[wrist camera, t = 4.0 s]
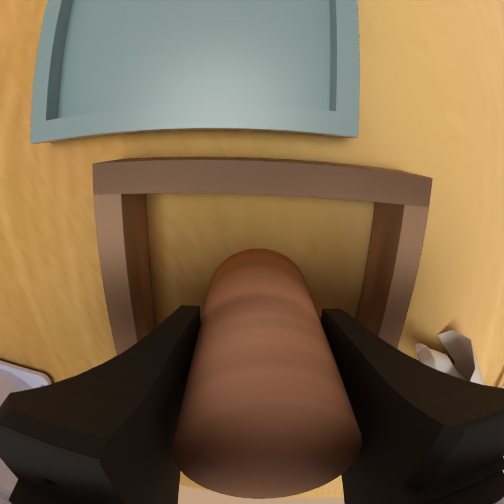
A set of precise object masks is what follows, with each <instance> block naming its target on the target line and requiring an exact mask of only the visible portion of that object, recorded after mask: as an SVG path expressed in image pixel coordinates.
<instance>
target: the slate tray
mask: <svg viewBox="0 0 504 504" xmlns="http://www.w3.org/2000/svg"><path fill="white" fill-rule="evenodd" d="M359 86H360V58H359V23H358V4H357V0H48V1H47V6H46V10H45V14H44V19H43V23H42V28H41V33H40V39H39V45H38V51H37V58H36V65H35V74H34V83H33V95H32V111H31V144H36V143H49V142H57V141H64V140H71V139H78V138H87V137H95V136H105V135H115V134H127V133H142V132H160V131H189V130H234V131H265V132H283V133H297V134H310V135H321V136H331V137H340V138H358V123H359Z"/></svg>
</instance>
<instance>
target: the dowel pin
mask: <svg viewBox="0 0 504 504" xmlns="http://www.w3.org/2000/svg"><path fill="white" fill-rule="evenodd" d="M361 447H362V435H361V432H360V430H359V427H358V424H357V421H356V418H355V415H354V412H353V409H352V406H351V404H350V401H349V398H348V395H347V392H346V389H345V387H344V384H343V381H342V378H341V376H340V373H339V370H338V367H337V365H336V362H335V359H334V357H333V354H332V351H331V348H330V346H329V343H328V340H327V338H326V335H325V332H324V330H323V327H322V325H321V322H320V319H319V317H318V314H317V312H316V309H315V306H314V304H313V301H312V299H311V296H310V294H309V291H308V289H307V286H306V284H305V281H304V278H303V276H302V274H301V272H300V270H299V269H298V267H297V266H296V265H295V264H294V263H293V262H292V261H291V260H290V259H288V258H287V257H286V256H284V255H282V254H280V253H278V252H275V251H271V250H267V249H250V250H245V251H242V252H239V253H237V254H234V255H233V256H231V257H229V258H228V259H226V260H225V261H224V262H223V263H222V264H221V265H220V266H219V267H218V269H217V270H216V271H215V273H214V275H213V277H212V280H211V283H210V287H209V291H208V295H207V299H206V303H205V307H204V311H203V315H202V319H201V323H200V327H199V332H198V336H197V340H196V344H195V348H194V352H193V357H192V361H191V365H190V370H189V374H188V378H187V383H186V387H185V391H184V396H183V400H182V405H181V409H180V414H179V419H178V423H177V428H176V433H175V437H174V442H173V449H172V453H173V458H174V461H175V463H176V465H177V466H178V468H179V469H180V470H181V471H182V472H183V474H184V475H186V476H187V477H188V478H189V479H191V480H192V481H194V482H195V483H197V484H199V485H201V486H203V487H205V488H207V489H209V490H212V491H215V492H218V493H221V494H226V495H230V496H235V497H242V498H255V499H265V498H279V497H286V496H292V495H296V494H300V493H304V492H307V491H310V490H313V489H316V488H318V487H320V486H323V485H325V484H327V483H329V482H330V481H332V480H334V479H335V478H337V477H338V476H340V475H341V474H343V473H344V472H345V471H346V470H347V469H348V468H349V467H350V466H351V465H352V464H353V463H354V462H355V460H356V459H357V457H358V455H359V453H360V451H361Z"/></svg>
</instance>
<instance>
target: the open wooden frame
mask: <svg viewBox="0 0 504 504" xmlns="http://www.w3.org/2000/svg"><path fill="white" fill-rule="evenodd" d="M431 186H432V178H429V177H425V176H421V175H417V174H413V173H408V172H404V171H399V170H392V169H384V168H376V167H368V166H359V165H350V164H340V163H329V162H317V161H304V160H289V159H271V158H245V157H159V158H134V159H119V160H113V161H107V162H101V163H95V164H93V191H94V207H95V220H96V231H97V241H98V250H99V258H100V265H101V273H102V279H103V286H104V292H105V298H106V304H107V309H108V314H109V320H110V325H111V329H112V334H113V339H114V343H115V348H116V352H117V355H119V354H121V353H122V352H124V351H126V350H127V349H129V348H130V347H132V346H133V345H134V344H136V343H137V342H138V341H140V340H141V339H142V338H144V337H145V336H146V335H148V334H149V333H150V332H152V331H153V330H154V329H155V328H156V322H155V314H154V305H153V296H152V287H151V276H150V265H149V252H148V237H147V219H146V193H203V194H248V195H275V196H296V197H313V198H329V199H344V200H357V201H369V202H375V209H374V217H373V225H372V232H371V240H370V246H369V253H368V259H367V265H366V271H365V277H364V283H363V288H362V293H361V298H360V303H359V308H358V313H357V318H356V320H357V321H358V322H359V323H361V324H362V325H363V326H365V327H366V328H367V329H369V330H370V331H371V332H373V333H374V334H375V335H377V336H378V337H380V338H381V339H383V340H384V341H385V342H387V343H388V344H390V345H392V346H393V347H395V348H396V349H397V346H398V342H399V339H400V336H401V333H402V329H403V326H404V322H405V319H406V315H407V312H408V308H409V304H410V300H411V296H412V292H413V288H414V284H415V280H416V275H417V271H418V266H419V261H420V256H421V251H422V246H423V241H424V235H425V229H426V223H427V217H428V210H429V203H430V195H431Z"/></svg>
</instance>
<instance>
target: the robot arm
mask: <svg viewBox="0 0 504 504" xmlns="http://www.w3.org/2000/svg"><path fill="white" fill-rule="evenodd" d="M200 323H201V321H200V306H183V305H182V306H181V307H179V308H178V309H177V310H176V311H175V312H174V313H172V314H171V315H170V316H169V317H168V318H167V319H166V320H165V321H163V322H162V323H161V324H160V325H159V326H158V327H156V328H155V329H154V330H153V331H152V332H150V333H149V334H148V335H146V336H145V337H144V338H142V339H141V340H140V341H138V342H137V343H136V344H134V345H133V346H132V347H130V348H129V349H127V350H126V351H124V352H122V353H121V354H119V355H117V356H116V357H114V358H112V359H110V360H109V361H107V362H105V363H103V364H101V365H99V366H97V367H94V368H92V369H90V370H88V371H86V372H83V373H81V374H79V375H76V376H74V377H71V378H68V379H65V380H63V381H59V382H56V383H53V384H52V383H51V381H50V379H49V377H48V376H47V375H46V374H44V373H41V372H38V371H34V370H30V369H27V368H23V367H20V366H17V365H13V364H10V363H7V362H4V361H1V360H0V504H178V492H179V481H180V471H181V470H180V469H179V468H178V466H177V465H176V463H175V461H174V458H173V453H172V449H173V442H174V437H175V433H176V428H177V423H178V419H179V414H180V409H181V405H182V400H183V396H184V391H185V387H186V383H187V378H188V374H189V370H190V365H191V361H192V357H193V352H194V348H195V344H196V340H197V336H198V332H199V327H200ZM321 325H322V327H323V330H324V332H325V335H326V338H327V340H328V343H329V346H330V348H331V351H332V354H333V357H334V359H335V362H336V365H337V367H338V370H339V373H340V376H341V378H342V381H343V384H344V387H345V389H346V392H347V395H348V398H349V401H350V404H351V406H352V409H353V412H354V415H355V418H356V421H357V424H358V427H359V430H360V432H361V435H362V447H361V451H360V453H359V455H358V457H357V459H356V460H355V462H354V463H353V464H352V465H351V466H350V467H349V468H348V469H347V470H346V471H345V472H344V473H343V474H342V482H343V491H344V502H345V504H504V473H503V471H502V470H504V458H503V456H504V388H498V387H492V386H486V385H482V384H478V383H474V382H471V381H467V380H464V379H461V378H458V377H455V376H452V375H449V374H447V373H444V372H442V371H439V370H436V369H434V368H432V367H430V366H427V365H425V364H423V363H421V362H419V361H418V360H416V359H414V358H412V357H410V356H408V355H406V354H404V353H403V352H401V351H399V350H398V349H396V348H395V347H393V346H392V345H390V344H388V343H387V342H385V341H384V340H383V339H381V338H380V337H378V336H377V335H375V334H374V333H373V332H371V331H370V330H369V329H367V328H366V327H365V326H363V325H362V324H361V323H359V322H358V321H357V320H355V319H354V318H353V317H351V316H350V315H348V314H347V313H346V312H344V311H343V310H341V309H322V316H321Z"/></svg>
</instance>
